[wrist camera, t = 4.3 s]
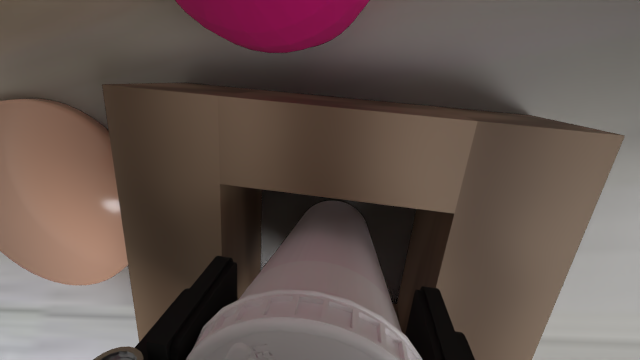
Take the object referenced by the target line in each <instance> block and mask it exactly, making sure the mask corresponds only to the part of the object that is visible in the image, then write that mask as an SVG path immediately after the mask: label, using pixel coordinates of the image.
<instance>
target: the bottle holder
mask: <svg viewBox="0 0 640 360" xmlns="http://www.w3.org/2000/svg"><path fill="white" fill-rule="evenodd" d="M102 88H103V95H104V102H105V108H106V115H107V122H108V129H109V136H110V143H111V150H112V157H113V164H114V171H115V178H116V184H117V191H118V198H119V205H120V212H121V219H122V226H123V233H124V240H125V247H126V254H127V260H128V267H129V274H130V281H131V288H132V295H133V302H134V309H135V316H136V323H137V329H138V336H139V342H140V341H141V340H142V339H143V337H144V336H145V335H146V334H147V333H148V331H149V330H150V329H151V328H152V327H153V326H154V324H155V323H156V322H157V321H158V320H159V318H160V317H161V316H162V315H163V314H164V312H165V311H166V310H167V309H168V308H169V306H170V305H171V304H172V303H173V302H174V301H175V299H176V298H177V297H178V296H179V295H180V293H181V292H182V291H183V290H184V289H187V288H190V287H191V286H192V285H193V284H194V282H195V281H196V280H197V279H198V278H199V276H200V275H201V274H202V273H203V271H204V270H205V269H206V268H207V267H208V265H209V264H210V263H211V262H212V260H213V259H214V258H215V257H216V256H223V257H230V258H232V259H233V262H236V263H237V300H239V298H240V297H241V296H242V294H243V293H244V292H245V290H246V289H247V288H248V286H249V285H250V284H251V283H252V282H253V281H254V279H255V278H256V277H257V275H258V274H259V273H260V267H261V223H262V189H263V190H271V191H279V192H287V193H295V194H303V195H311V196H319V197H327V198H335V199H343V200H351V201H359V202H366V203H374V204H382V205H390V206H398V207H406V208H414V209H416V213H415V218H414V223H413V228H412V233H411V238H410V243H409V247H408V252H407V257H406V262H405V267H404V272H403V277H402V282H401V286H400V291H399V296H398V301H397V304H393V307H394V310H395V313H396V315H397V318H398V321H399V324H400V328H401V331H402V333H403V334H405V333H406V328H407V324H408V319H409V315H410V310H411V306H412V302H413V297H414V293H415V290H420V289H421V287H422V286H424V287H431V288H438V289H439V290H440V292H441V295H442V298H443V300H444V303H445V306H446V308H447V311H448V314H449V317H450V319H451V322H452V325H453V327H454V330H455V331H456V332H462V333H463V334H464V335H465V337H466V339H467V341H468V344H469V346H470V349H471V351H472V354H473V356H474V358H475V360H532V358H533V356H534V353H535V351H536V348H537V346H538V344H539V341H540V339H541V336H542V334H543V332H544V329H545V327H546V324H547V322H548V320H549V317H550V315H551V312H552V310H553V307H554V305H555V303H556V300H557V298H558V295H559V293H560V291H561V288H562V286H563V283H564V281H565V279H566V276H567V274H568V271H569V269H570V267H571V264H572V262H573V259H574V257H575V254H576V252H577V250H578V247H579V245H580V242H581V240H582V238H583V235H584V233H585V230H586V228H587V226H588V223H589V221H590V218H591V216H592V214H593V211H594V209H595V206H596V204H597V202H598V199H599V197H600V194H601V192H602V189H603V187H604V185H605V182H606V180H607V177H608V175H609V173H610V170H611V168H612V165H613V163H614V161H615V158H616V156H617V153H618V151H619V149H620V146H621V144H622V141H623V139H624V135H619V134H615V133H610V132H605V131H601V130H596V129H592V128H587V127H582V126H578V125H573V124H568V123H564V122H559V121H555V120H550V119H545V118H541V117H536V116H531V115H521V114H511V113H500V112H489V111H479V110H468V109H458V108H447V107H437V106H426V105H415V104H405V103H394V102H384V101H373V100H363V99H352V98H341V97H331V96H320V95H310V94H299V93H289V92H278V91H267V90H257V89H246V88H236V87H225V86H215V85H204V84H193V83H148V84H103V85H102Z"/></svg>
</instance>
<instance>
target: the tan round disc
mask: <svg viewBox="0 0 640 360" xmlns="http://www.w3.org/2000/svg"><path fill="white" fill-rule="evenodd" d="M0 251H1V252H2V253H3V254H4V255H6V256H7V257H8V258H9V259H11V260H12V261H13V262H15V263H16V264H18V265H19V266H21V267H22V268H24V269H26V270H28V271H30V272H31V273H33V274H35V275H38V276H40V277H42V278H45V279H48V280H51V281H54V282H58V283H62V284H69V285H90V284H96V283H99V282H102V281H105V280H107V279H109V278H111V277H113V276H115V275H116V274H117V273H119V272H120V271H121V270H123V269H124V268H125V267H126V266H128V260H127V254H126V247H125V240H124V233H123V226H122V219H121V212H120V205H119V198H118V191H117V184H116V178H115V171H114V164H113V157H112V150H111V143H110V136H109V131H108V130H107V129H106V128H105V127H104V126H103V125H101V124H100V123H99V122H97V121H96V120H95V119H93V118H92V117H90V116H88V115H87V114H85V113H83V112H82V111H80V110H78V109H75V108H73V107H71V106H69V105H66V104H63V103H60V102H57V101H52V100H46V99H31V98H30V99H14V100H4V101H0Z"/></svg>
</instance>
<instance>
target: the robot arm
mask: <svg viewBox="0 0 640 360" xmlns="http://www.w3.org/2000/svg"><path fill="white" fill-rule="evenodd" d="M235 301H237V263H236V262H233V259H232V258H230V257H223V256H216V257H215V258H214V259H213V260H212V262H211V263H210V264H209V265H208V267H207V268H206V269H205V270H204V271H203V273H202V274H201V275H200V276H199V278H198V279H197V280H196V281H195V282H194V284H193V285H192V286H191V287H190V288H187V289H184V290H183V291H182V292H181V293H180V295H179V296H178V297H177V298H176V299H175V301H174V302H173V303H172V304H171V305H170V306H169V308H168V309H167V310H166V311H165V312H164V314H163V315H162V316H161V317H160V318H159V320H158V321H157V322H156V323H155V324H154V326H153V327H152V328H151V329H150V330H149V331H148V333H147V334H146V335H145V336H144V337H143V339H142V340H141V341H140V342H139V343H138V345H137V346H136V347H135V348H133V347H119V348H115V349H111V350H109V351H107V352H105V353H103V354H101V355H99V356H98V357H96V358H95V359H93V360H186V358H187V357H188V355H189V354H190V352H191V351H192V349H193V347H194V345H195V343H196V341H197V339H198V337H199V335H200V333H201V330H202V328H203V326H204V325H205V324H206V323H207V322H208V321H209V320H210V319H211V318H212V317H213V316H214V315H216V314H217V313H218V312H219V311H220V310H221V309H222V308H223V307H225V306H227V305H229V304H231V303H233V302H235ZM405 335H406V336H407V337H408V339H409V340H410V342H411V343H412V345H413V346H414V347H415V349H416V350H417V352H418V353H419V355H420V356H421V358H422V359H423V360H475V358H474V356H473V354H472V351H471V349H470V346H469V344H468V341H467V339H466V337H465V335H464V334H463V333H462V332H456V331H455V330H454V327H453V325H452V322H451V319H450V317H449V314H448V311H447V308H446V306H445V303H444V300H443V298H442V295H441V292H440V290H439V289H438V288H431V287H424V286H422V287H421V289H420V290H415V293H414V297H413V302H412V306H411V310H410V315H409V319H408V324H407V328H406V333H405Z"/></svg>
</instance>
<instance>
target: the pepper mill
mask: <svg viewBox="0 0 640 360" xmlns="http://www.w3.org/2000/svg"><path fill="white" fill-rule="evenodd" d="M175 1H176V2H177V3H178V4H179V5H180V6H181V8H182V9H183V10H184V11H185V12H186V13H187V14H189V15H190V16H191V17H192V18H194V19H195V20H196V21H197V22H199V23H200V24H201V25H202V26H204V27H205V28H207V29H208V30H210V31H212V32H214V33H216V34H217V35H219V36H221V37H223V38H225V39H227V40H228V41H230V42H232V43H234V44H236V45H239V46H242V47H245V48H248V49H251V50H255V51H261V52H267V53H287V52H292V51H298V50H303V49H306V48H309V47H314V46H318V45H321V44H324V43H326V42H328V41H330V40H332V39H334V38H335V37H337V36H338V35H340V34H341V33H342V32H343V31H344V30H345V29H346V28H348V27H349V25H350V24H351V23H352V22H353V21H354V20H355V19H356V17H357V16H358V15H359V13H360V12H361V11H362V10H363V9H364V7H365V6H366V5H367V3H368V2H369V0H175Z"/></svg>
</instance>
